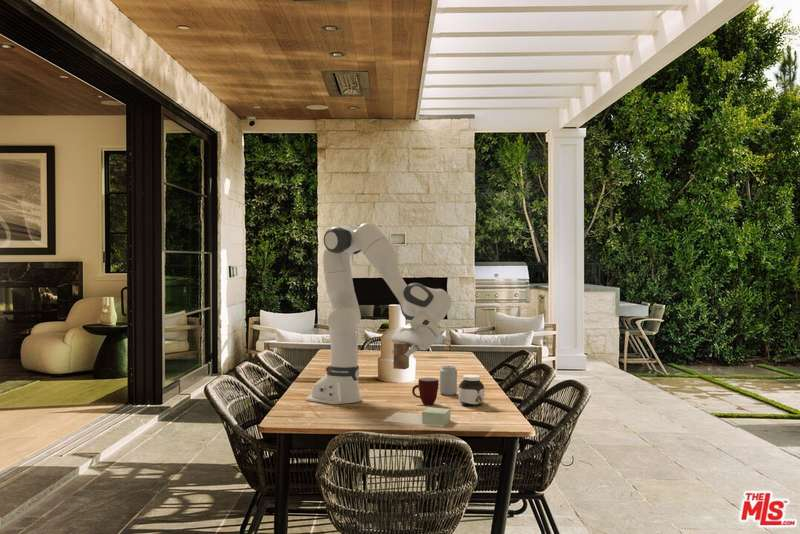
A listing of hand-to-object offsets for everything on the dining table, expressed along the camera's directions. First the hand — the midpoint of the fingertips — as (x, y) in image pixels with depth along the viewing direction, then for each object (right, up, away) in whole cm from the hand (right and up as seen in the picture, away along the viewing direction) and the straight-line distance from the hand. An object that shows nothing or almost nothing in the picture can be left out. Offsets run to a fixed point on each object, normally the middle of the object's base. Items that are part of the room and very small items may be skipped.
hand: (399, 354), depth 247 cm
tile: (+7, -24, -3) cm, 25 cm away
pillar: (0, -5, 0) cm, 5 cm away
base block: (+13, -23, -7) cm, 27 cm away
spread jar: (+29, -24, +30) cm, 48 cm away
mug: (+10, -24, +28) cm, 38 cm away
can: (+21, -24, +50) cm, 59 cm away
